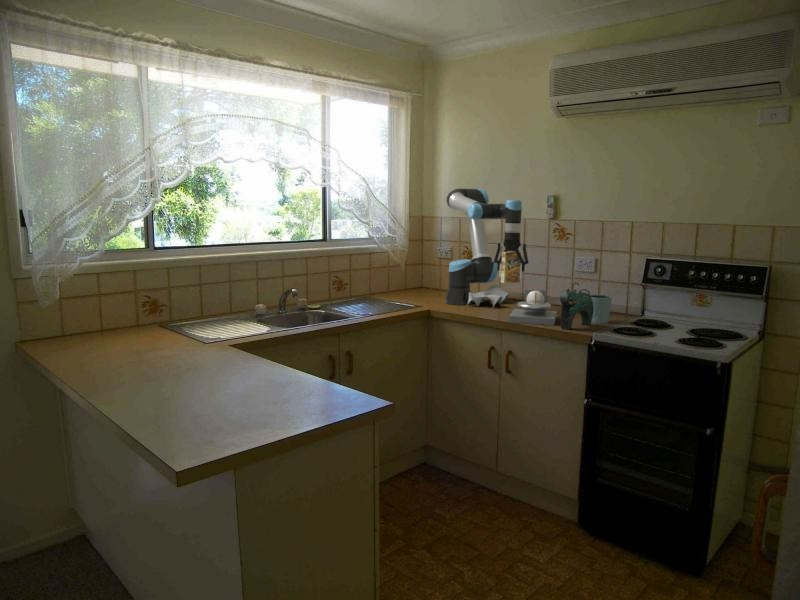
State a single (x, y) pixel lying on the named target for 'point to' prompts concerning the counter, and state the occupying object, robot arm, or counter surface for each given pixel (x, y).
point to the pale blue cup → (601, 308)
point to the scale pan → (533, 305)
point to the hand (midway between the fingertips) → (510, 277)
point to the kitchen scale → (534, 310)
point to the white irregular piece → (489, 295)
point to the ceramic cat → (575, 307)
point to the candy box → (510, 267)
